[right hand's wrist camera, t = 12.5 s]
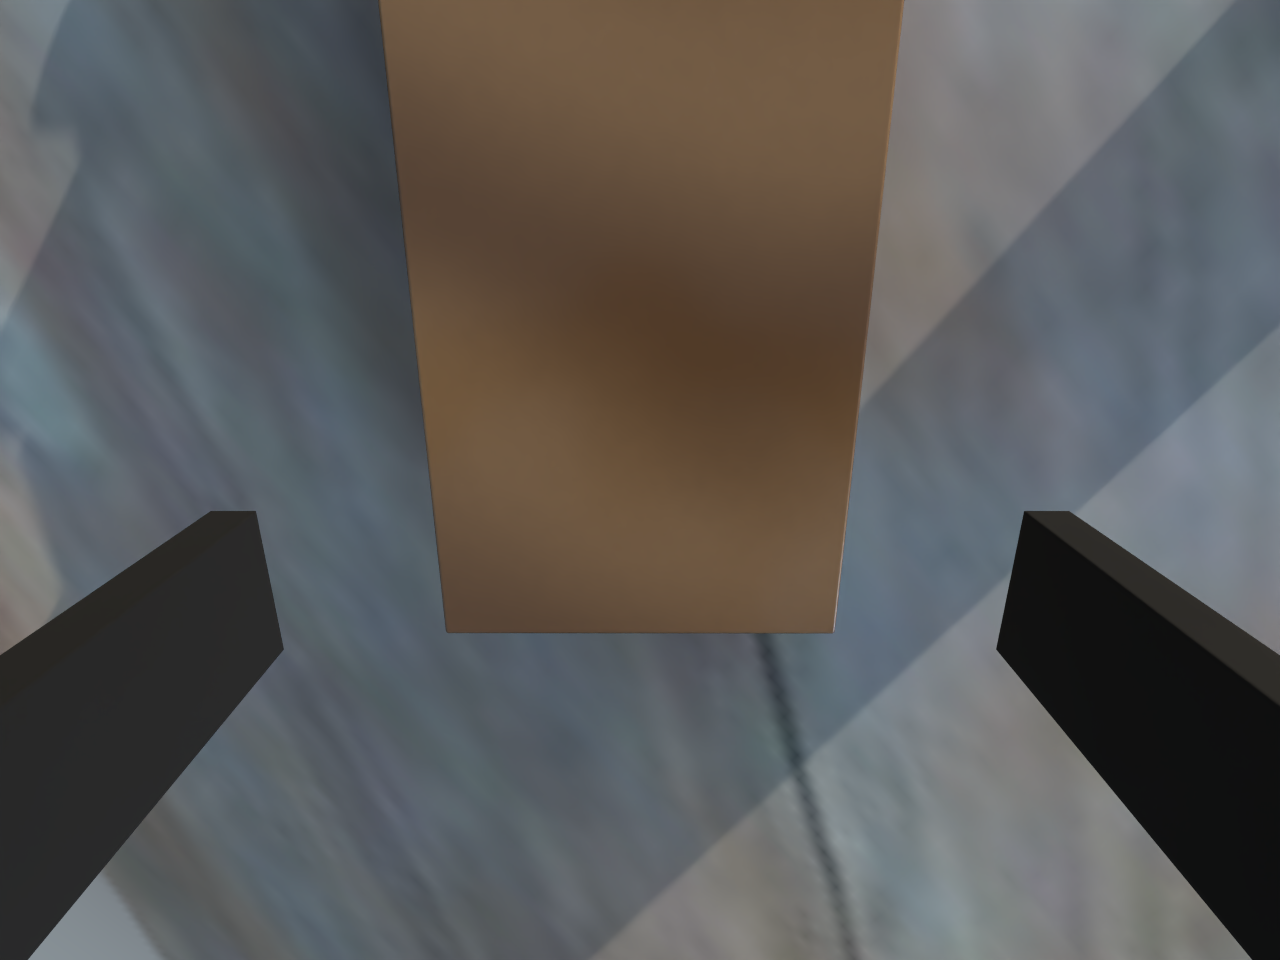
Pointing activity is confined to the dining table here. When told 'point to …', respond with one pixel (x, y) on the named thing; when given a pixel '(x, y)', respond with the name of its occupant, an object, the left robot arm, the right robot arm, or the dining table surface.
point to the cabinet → (640, 300)
